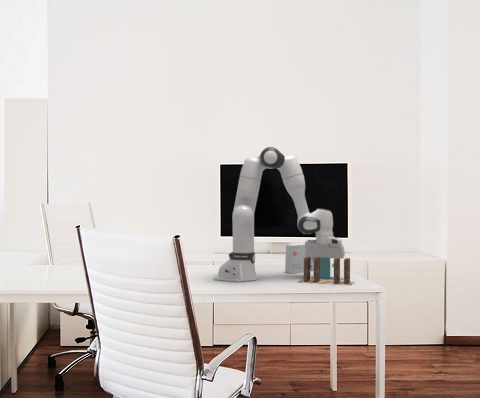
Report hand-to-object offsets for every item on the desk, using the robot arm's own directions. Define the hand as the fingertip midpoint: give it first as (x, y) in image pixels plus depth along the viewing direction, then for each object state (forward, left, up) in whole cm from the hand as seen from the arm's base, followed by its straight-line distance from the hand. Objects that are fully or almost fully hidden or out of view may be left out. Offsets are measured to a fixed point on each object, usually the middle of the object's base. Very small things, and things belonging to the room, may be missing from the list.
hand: (324, 266), depth 329 cm
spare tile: (0, 0, -7) cm, 7 cm away
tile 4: (-1, -13, -6) cm, 14 cm away
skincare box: (-18, +26, -7) cm, 32 cm away
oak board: (+3, -13, -7) cm, 15 cm away
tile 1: (+14, -13, -6) cm, 20 cm away
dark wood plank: (-6, -13, -6) cm, 16 cm away
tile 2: (+9, -13, -6) cm, 17 cm away
